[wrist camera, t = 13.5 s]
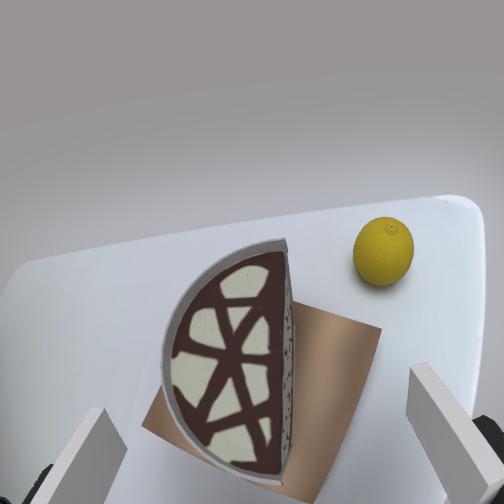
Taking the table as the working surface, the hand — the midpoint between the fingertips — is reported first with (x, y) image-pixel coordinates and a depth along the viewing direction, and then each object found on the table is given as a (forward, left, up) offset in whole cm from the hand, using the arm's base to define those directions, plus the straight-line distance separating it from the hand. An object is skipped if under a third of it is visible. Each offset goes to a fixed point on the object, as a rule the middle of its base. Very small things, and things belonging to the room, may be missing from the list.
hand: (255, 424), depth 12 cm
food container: (-2, +3, -10) cm, 11 cm away
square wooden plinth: (-2, +3, -16) cm, 16 cm away
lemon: (+6, +16, -16) cm, 23 cm away
